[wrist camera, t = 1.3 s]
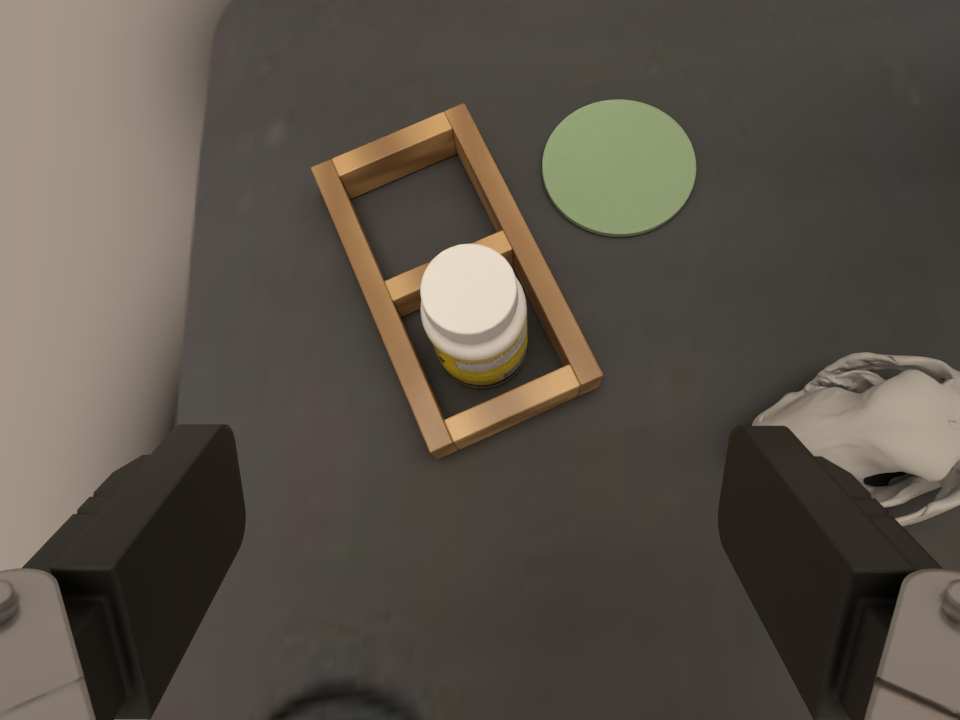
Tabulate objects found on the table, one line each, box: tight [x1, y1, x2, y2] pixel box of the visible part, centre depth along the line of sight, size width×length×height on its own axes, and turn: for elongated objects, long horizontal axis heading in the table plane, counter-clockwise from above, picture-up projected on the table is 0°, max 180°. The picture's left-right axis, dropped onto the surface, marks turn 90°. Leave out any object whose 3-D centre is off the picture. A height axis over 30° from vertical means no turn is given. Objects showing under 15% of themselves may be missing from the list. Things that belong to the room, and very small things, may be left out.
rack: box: [311, 103, 603, 459], centre depth 36 cm, size 9×17×2 cm, turn 24°
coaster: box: [542, 100, 696, 237], centre depth 38 cm, size 8×8×1 cm
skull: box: [752, 352, 960, 526], centre depth 29 cm, size 8×9×12 cm
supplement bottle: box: [420, 244, 528, 388], centre depth 32 cm, size 5×5×8 cm
